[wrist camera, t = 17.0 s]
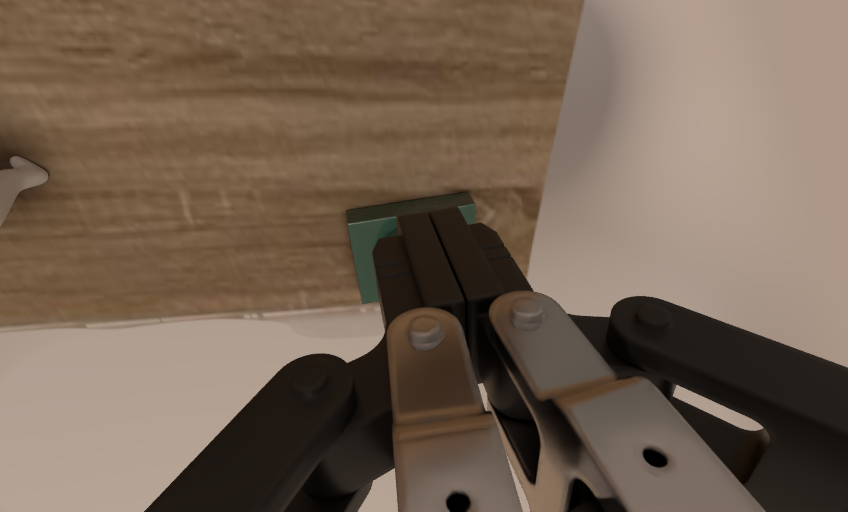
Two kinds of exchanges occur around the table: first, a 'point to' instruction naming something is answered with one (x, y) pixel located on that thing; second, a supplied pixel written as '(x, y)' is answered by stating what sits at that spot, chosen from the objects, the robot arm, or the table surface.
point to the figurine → (18, 182)
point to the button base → (390, 231)
